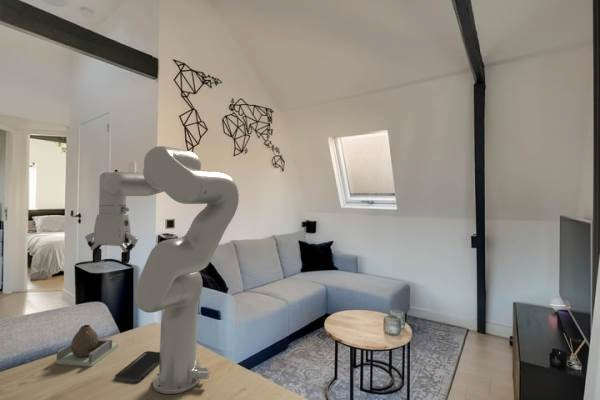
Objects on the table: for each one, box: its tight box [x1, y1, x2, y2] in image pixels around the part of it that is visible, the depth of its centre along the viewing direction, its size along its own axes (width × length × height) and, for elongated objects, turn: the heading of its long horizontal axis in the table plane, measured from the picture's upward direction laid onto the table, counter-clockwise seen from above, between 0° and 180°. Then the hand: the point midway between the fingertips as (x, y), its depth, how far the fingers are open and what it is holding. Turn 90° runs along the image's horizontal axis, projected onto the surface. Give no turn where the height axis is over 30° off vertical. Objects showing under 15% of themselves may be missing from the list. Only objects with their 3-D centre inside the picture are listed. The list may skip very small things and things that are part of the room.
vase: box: [70, 324, 99, 358], centre depth 97 cm, size 7×7×9 cm
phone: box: [114, 350, 160, 384], centre depth 94 cm, size 8×1×15 cm
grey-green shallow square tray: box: [56, 337, 119, 368], centre depth 99 cm, size 11×12×4 cm
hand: (111, 262), depth 104 cm, fingers open, 9 cm apart
